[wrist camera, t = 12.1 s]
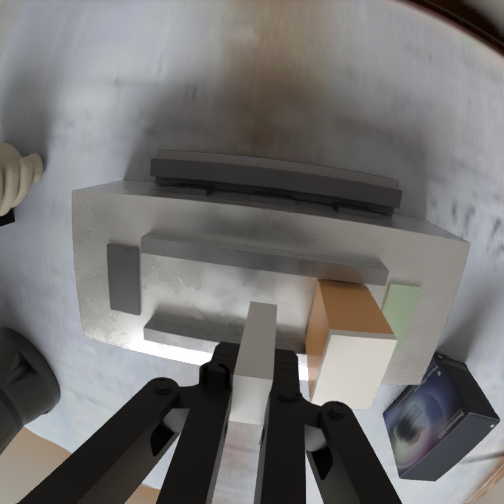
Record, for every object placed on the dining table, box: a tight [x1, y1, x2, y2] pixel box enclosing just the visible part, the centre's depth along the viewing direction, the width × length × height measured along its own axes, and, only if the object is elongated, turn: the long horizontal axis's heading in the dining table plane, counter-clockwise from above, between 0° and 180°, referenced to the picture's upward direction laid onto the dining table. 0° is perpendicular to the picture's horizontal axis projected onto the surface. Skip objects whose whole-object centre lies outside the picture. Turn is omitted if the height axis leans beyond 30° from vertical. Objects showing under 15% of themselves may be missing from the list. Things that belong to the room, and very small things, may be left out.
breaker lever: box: [305, 279, 397, 409], centre depth 17 cm, size 3×4×6 cm
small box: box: [383, 353, 500, 481], centre depth 26 cm, size 11×6×10 cm, turn 157°
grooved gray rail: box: [150, 150, 402, 215], centre depth 24 cm, size 20×3×3 cm, turn 84°
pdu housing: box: [72, 180, 470, 385], centre depth 23 cm, size 28×12×9 cm, turn 84°
